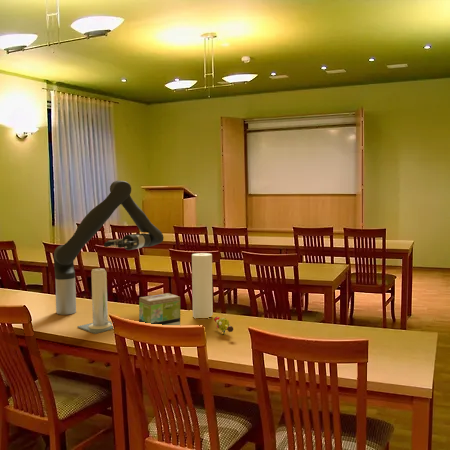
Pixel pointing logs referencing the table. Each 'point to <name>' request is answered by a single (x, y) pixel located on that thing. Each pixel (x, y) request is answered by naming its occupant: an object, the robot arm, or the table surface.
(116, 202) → the robot arm
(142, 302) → the tea box
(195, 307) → the cylinder container
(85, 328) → the plate
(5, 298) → the table surface
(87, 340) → the table surface
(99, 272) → the tall cream cylinder
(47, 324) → the table surface
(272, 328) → the table surface
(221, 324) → the toy figure
